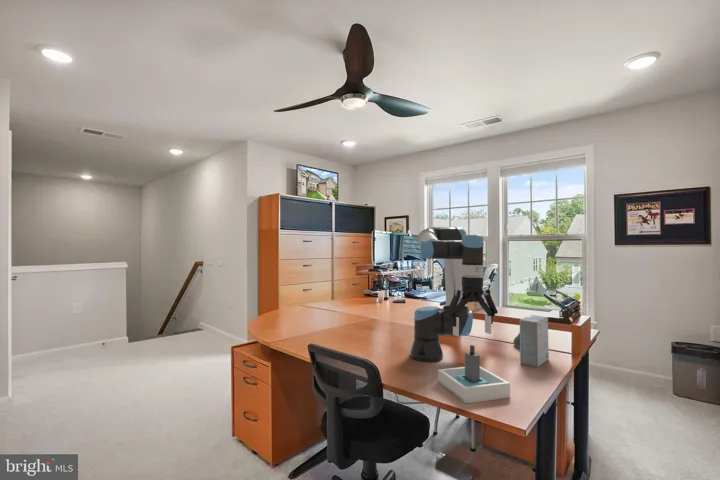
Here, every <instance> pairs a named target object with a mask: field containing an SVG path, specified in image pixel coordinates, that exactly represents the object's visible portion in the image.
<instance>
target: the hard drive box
mask: <svg viewBox="0 0 720 480" xmlns="http://www.w3.org/2000/svg"><path fill="white" fill-rule="evenodd" d="M519 333H520V348H519V363H520V364H521V365H526V366H530V367H535V368H539V367H540V366H541V365H543V364H544V363H546V362H547V361H548V360H549V358H550V355H549V353H550V352H549V348H550V347H549V318H548V316H544V315H543V316H542V315H534V314H530V315H528V316H526V317H522V318H521V319H519Z"/></svg>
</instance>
